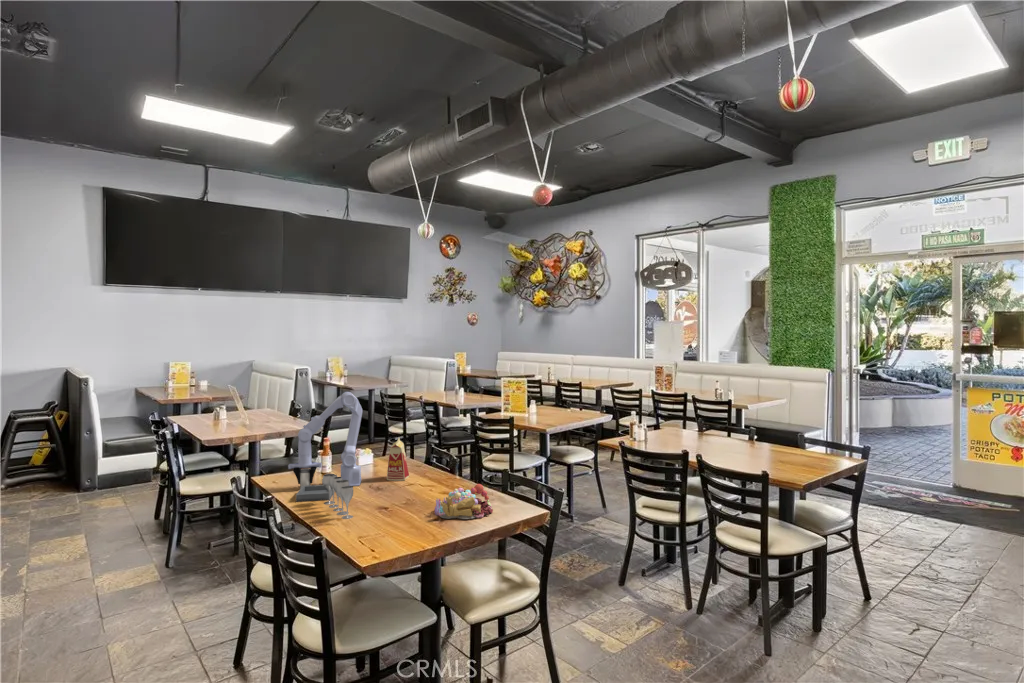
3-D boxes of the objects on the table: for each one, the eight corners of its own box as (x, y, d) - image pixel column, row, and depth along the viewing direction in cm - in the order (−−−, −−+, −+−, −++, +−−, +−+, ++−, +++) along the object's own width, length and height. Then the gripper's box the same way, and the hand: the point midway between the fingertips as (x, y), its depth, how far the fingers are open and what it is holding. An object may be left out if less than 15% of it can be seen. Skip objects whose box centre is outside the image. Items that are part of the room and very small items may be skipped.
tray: (334, 490, 250) (334, 484, 250) (329, 499, 237) (329, 493, 237) (302, 492, 248) (302, 485, 248) (296, 501, 234) (295, 494, 234)
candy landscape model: (496, 519, 211) (496, 495, 211) (435, 523, 207) (435, 499, 207) (488, 500, 236) (488, 479, 236) (433, 503, 232) (433, 481, 232)
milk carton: (392, 476, 276) (392, 436, 276) (409, 476, 275) (409, 437, 275) (385, 480, 267) (385, 440, 267) (403, 481, 266) (403, 440, 266)
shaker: (311, 487, 257) (311, 468, 257) (309, 490, 252) (309, 470, 252) (301, 487, 256) (301, 468, 256) (299, 490, 251) (298, 471, 251)
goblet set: (356, 517, 214) (356, 483, 214) (342, 520, 211) (341, 486, 210) (334, 500, 237) (333, 469, 236) (320, 502, 233) (320, 471, 233)
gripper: (322, 451, 259) (323, 480, 259) (290, 453, 257) (290, 481, 257) (320, 454, 252) (320, 484, 252) (287, 456, 250) (287, 485, 250)
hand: (305, 483), depth 254 cm, fingers closed on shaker, 5 cm apart
